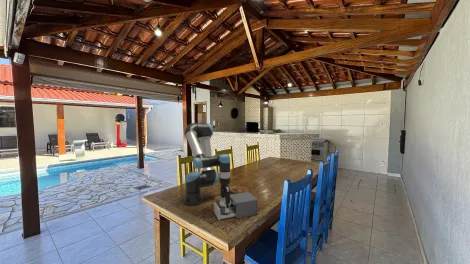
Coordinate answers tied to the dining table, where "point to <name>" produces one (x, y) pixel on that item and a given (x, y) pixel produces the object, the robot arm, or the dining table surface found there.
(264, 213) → the dining table surface
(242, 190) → the bread
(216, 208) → the grey drawer
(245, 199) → the grey drawer cabinet
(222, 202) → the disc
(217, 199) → the riser cube
